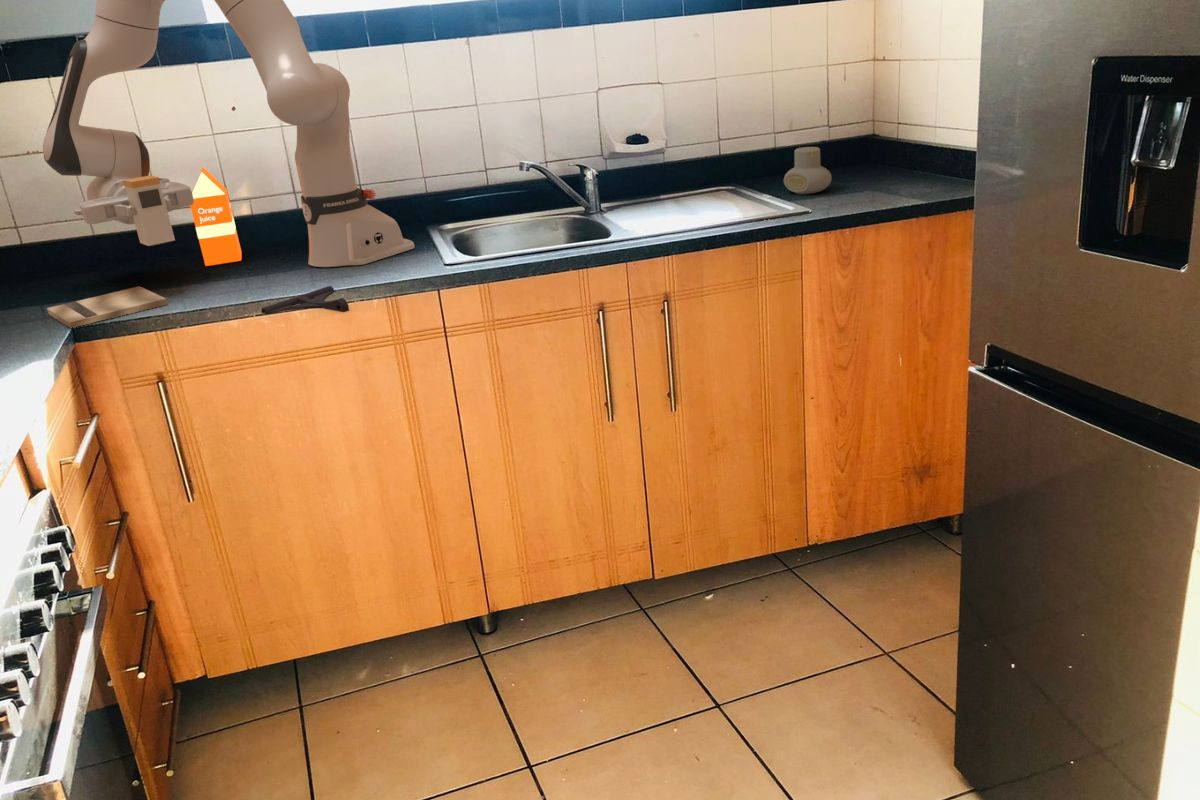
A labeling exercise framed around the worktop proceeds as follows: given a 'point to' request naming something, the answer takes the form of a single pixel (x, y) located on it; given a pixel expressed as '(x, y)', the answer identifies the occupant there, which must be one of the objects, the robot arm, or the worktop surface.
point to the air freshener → (807, 172)
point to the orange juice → (214, 221)
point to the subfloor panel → (106, 306)
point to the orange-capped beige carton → (149, 210)
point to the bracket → (310, 302)
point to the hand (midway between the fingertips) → (149, 207)
